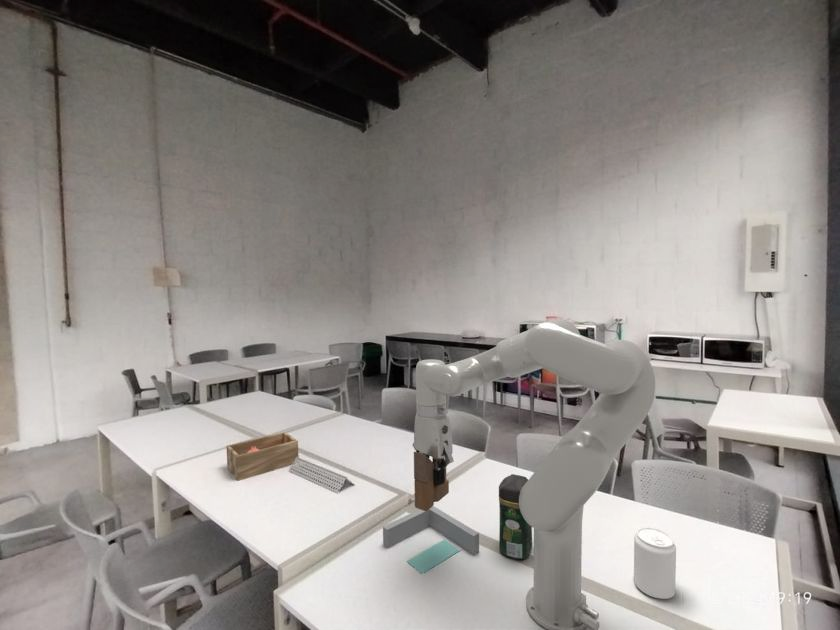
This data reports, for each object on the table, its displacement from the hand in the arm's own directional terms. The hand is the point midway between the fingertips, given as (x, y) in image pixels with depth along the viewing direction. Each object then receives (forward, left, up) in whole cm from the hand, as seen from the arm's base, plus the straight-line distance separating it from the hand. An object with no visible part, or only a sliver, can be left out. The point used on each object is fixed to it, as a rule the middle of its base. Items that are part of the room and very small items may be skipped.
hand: (432, 479), depth 101 cm
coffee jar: (-12, -18, -20) cm, 30 cm away
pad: (0, 0, -20) cm, 20 cm away
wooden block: (0, 0, -6) cm, 6 cm away
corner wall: (+3, -2, -20) cm, 20 cm away
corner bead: (+60, +2, -21) cm, 64 cm away
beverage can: (-41, -30, -20) cm, 55 cm away
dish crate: (+85, +14, -20) cm, 88 cm away
